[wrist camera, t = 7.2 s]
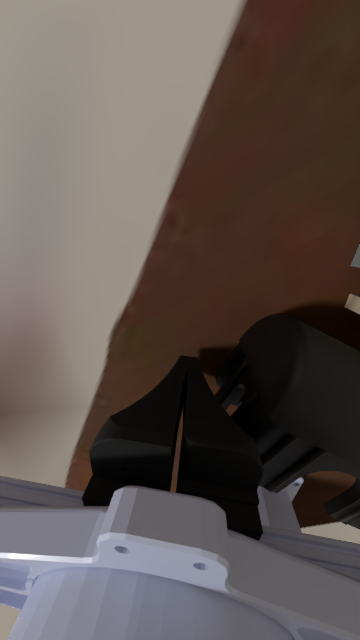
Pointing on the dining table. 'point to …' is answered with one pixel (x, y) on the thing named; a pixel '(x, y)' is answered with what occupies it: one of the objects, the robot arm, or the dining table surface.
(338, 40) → the dining table surface
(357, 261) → the button housing
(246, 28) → the dining table surface
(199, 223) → the dining table surface
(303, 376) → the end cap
